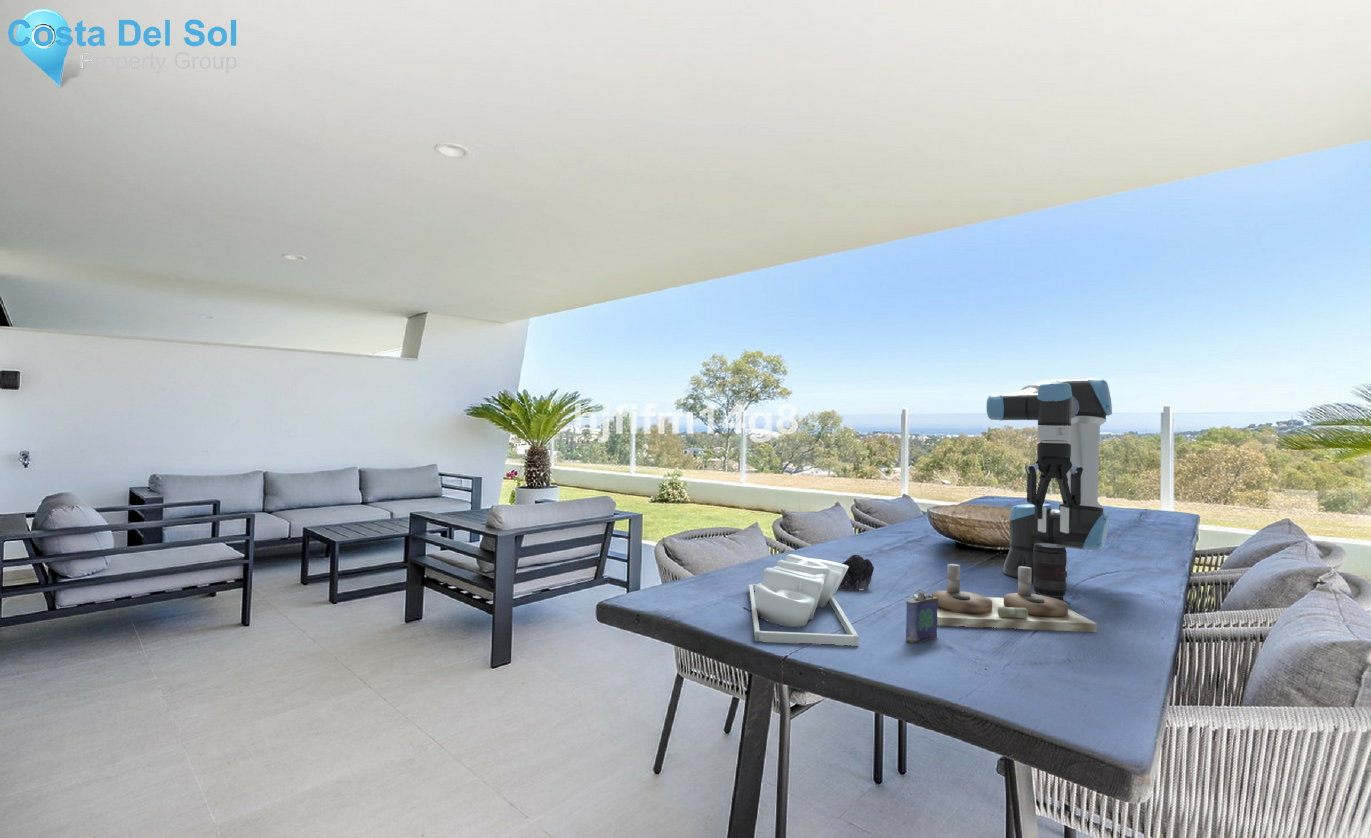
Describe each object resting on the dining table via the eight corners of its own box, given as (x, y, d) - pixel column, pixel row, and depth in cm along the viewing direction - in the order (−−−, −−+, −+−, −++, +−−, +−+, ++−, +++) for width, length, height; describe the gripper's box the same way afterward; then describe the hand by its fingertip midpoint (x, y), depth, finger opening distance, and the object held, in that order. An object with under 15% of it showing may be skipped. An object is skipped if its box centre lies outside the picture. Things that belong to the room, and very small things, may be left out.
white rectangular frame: (827, 594, 170) (827, 587, 170) (858, 646, 129) (858, 636, 129) (749, 591, 172) (749, 584, 172) (755, 641, 131) (755, 632, 131)
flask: (912, 644, 131) (913, 594, 131) (901, 640, 134) (902, 591, 134) (940, 637, 136) (940, 589, 136) (928, 633, 138) (929, 586, 139)
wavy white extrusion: (796, 582, 174) (799, 546, 173) (852, 597, 165) (856, 560, 164) (737, 620, 145) (741, 577, 144) (802, 641, 136) (806, 596, 135)
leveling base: (1051, 607, 162) (1051, 590, 162) (1096, 632, 142) (1096, 613, 142) (912, 601, 164) (913, 585, 164) (938, 625, 144) (938, 607, 144)
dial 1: (978, 598, 160) (978, 564, 160) (1002, 614, 146) (1002, 577, 146) (924, 596, 161) (924, 563, 161) (942, 612, 147) (942, 575, 147)
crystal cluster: (815, 586, 182) (816, 554, 181) (843, 576, 190) (844, 545, 189) (853, 600, 171) (854, 566, 170) (881, 589, 180) (882, 556, 179)
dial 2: (1049, 601, 159) (1049, 567, 159) (1080, 617, 145) (1080, 580, 145) (994, 598, 160) (994, 565, 160) (1019, 615, 146) (1019, 578, 146)
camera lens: (1057, 595, 174) (1057, 542, 174) (1072, 603, 166) (1072, 548, 166) (1027, 593, 175) (1027, 541, 175) (1041, 601, 167) (1041, 547, 167)
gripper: (1025, 441, 155) (1024, 533, 154) (1098, 443, 154) (1098, 535, 153) (1011, 441, 162) (1010, 528, 162) (1081, 442, 161) (1080, 530, 161)
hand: (1053, 531), depth 158 cm, fingers open, 5 cm apart
